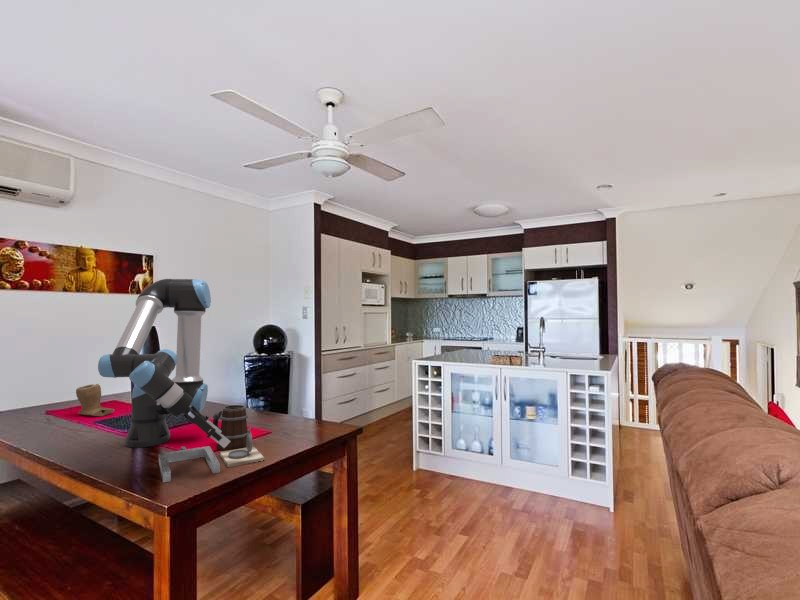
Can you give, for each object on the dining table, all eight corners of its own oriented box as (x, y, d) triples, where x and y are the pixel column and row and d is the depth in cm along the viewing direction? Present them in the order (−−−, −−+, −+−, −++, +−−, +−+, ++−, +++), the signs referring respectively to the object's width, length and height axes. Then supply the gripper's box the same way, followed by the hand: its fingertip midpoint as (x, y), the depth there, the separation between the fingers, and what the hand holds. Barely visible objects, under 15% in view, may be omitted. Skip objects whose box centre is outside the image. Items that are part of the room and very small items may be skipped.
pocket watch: (224, 457, 148) (224, 428, 148) (243, 450, 155) (243, 422, 155) (240, 461, 144) (241, 431, 144) (259, 453, 151) (260, 425, 152)
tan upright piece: (69, 416, 206) (70, 385, 206) (95, 411, 217) (96, 381, 217) (89, 419, 200) (90, 387, 200) (114, 414, 210) (115, 383, 211)
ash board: (219, 455, 153) (219, 451, 153) (253, 449, 159) (254, 446, 159) (227, 467, 141) (227, 463, 141) (264, 460, 148) (264, 457, 148)
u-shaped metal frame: (157, 457, 150) (157, 448, 150) (206, 449, 159) (206, 441, 159) (163, 482, 128) (163, 472, 128) (219, 472, 137) (219, 462, 137)
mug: (255, 442, 168) (256, 404, 168) (236, 452, 156) (236, 411, 156) (222, 439, 172) (222, 402, 172) (200, 448, 160) (201, 408, 161)
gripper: (162, 401, 147) (207, 438, 155) (169, 417, 126) (222, 459, 134) (179, 385, 150) (223, 422, 158) (190, 397, 129) (239, 439, 137)
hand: (222, 439), depth 146 cm, fingers open, 13 cm apart
